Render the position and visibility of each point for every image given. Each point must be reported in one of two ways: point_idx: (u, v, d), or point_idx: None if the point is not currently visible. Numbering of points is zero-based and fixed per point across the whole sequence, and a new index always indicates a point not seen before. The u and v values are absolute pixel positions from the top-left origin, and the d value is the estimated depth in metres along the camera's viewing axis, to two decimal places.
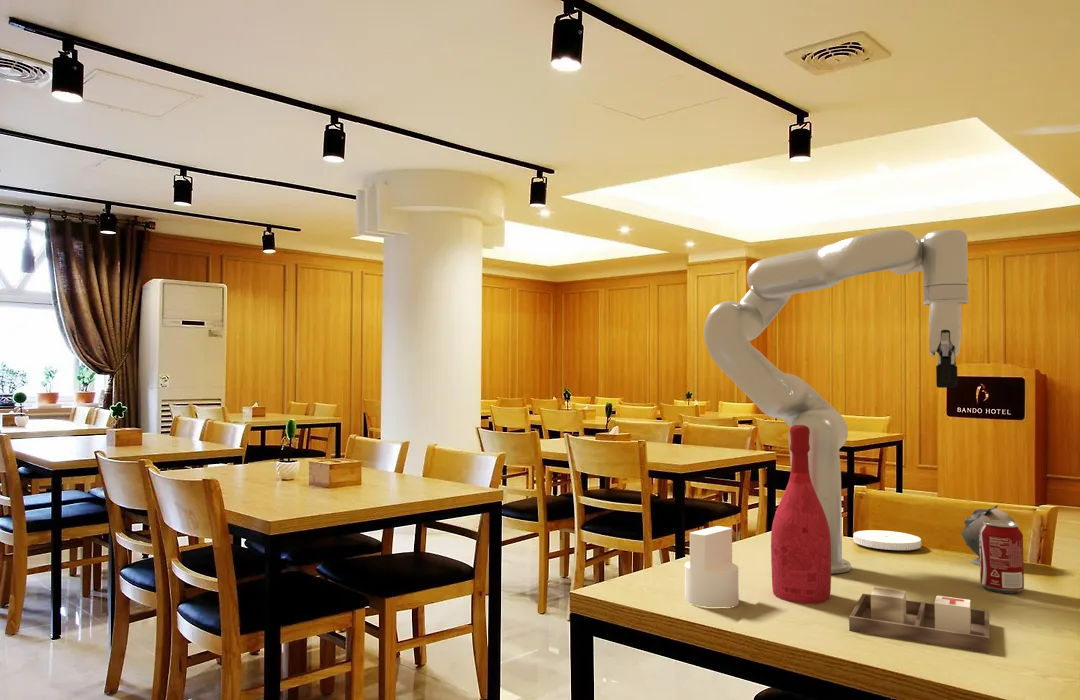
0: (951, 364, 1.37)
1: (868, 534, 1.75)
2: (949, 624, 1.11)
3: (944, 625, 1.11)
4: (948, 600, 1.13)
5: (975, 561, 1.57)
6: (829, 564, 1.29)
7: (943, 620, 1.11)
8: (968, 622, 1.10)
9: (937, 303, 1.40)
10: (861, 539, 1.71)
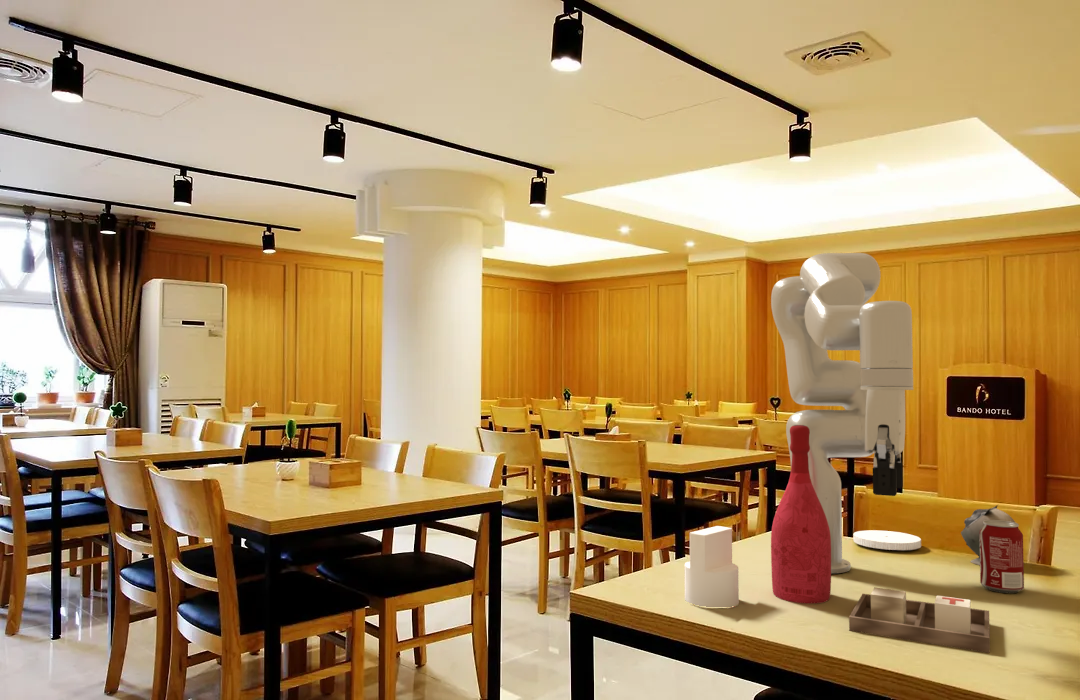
0: (890, 468, 1.12)
1: (868, 534, 1.75)
2: (949, 624, 1.11)
3: (944, 625, 1.11)
4: (948, 600, 1.13)
5: (975, 561, 1.57)
6: (829, 564, 1.29)
7: (943, 620, 1.11)
8: (968, 622, 1.10)
9: (874, 391, 1.15)
10: (861, 539, 1.71)
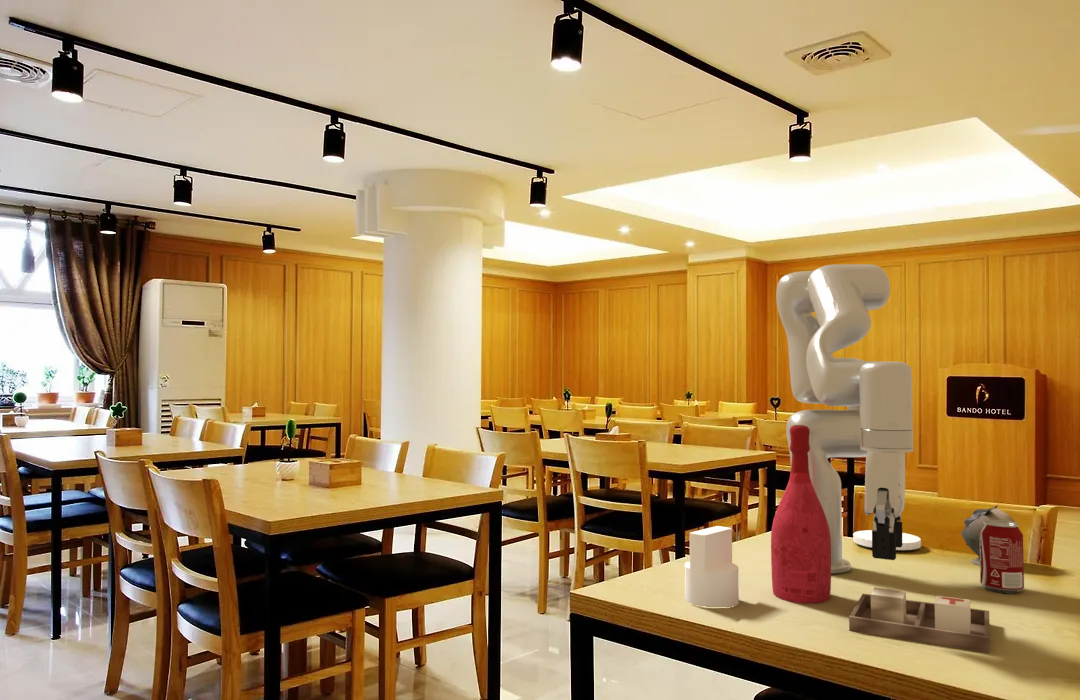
0: (889, 532, 1.12)
1: (868, 534, 1.75)
2: (949, 624, 1.11)
3: (944, 625, 1.11)
4: (948, 600, 1.13)
5: (975, 561, 1.57)
6: (829, 564, 1.29)
7: (943, 620, 1.11)
8: (968, 622, 1.10)
9: (874, 453, 1.15)
10: (861, 539, 1.71)
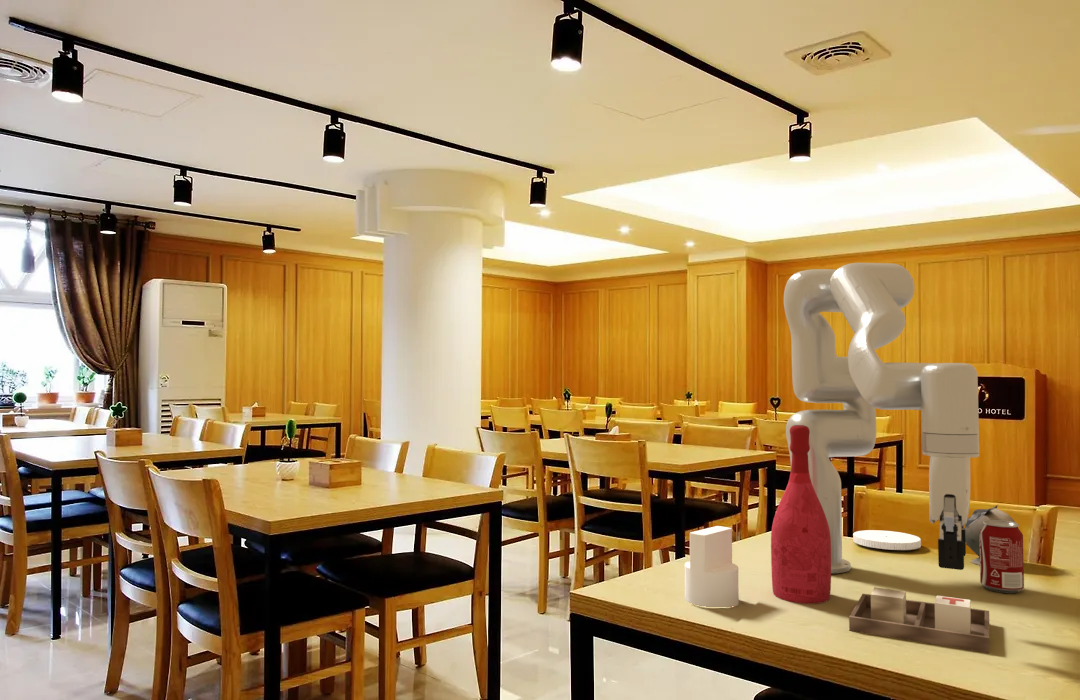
0: (957, 540, 1.07)
1: (868, 534, 1.75)
2: (949, 624, 1.11)
3: (944, 625, 1.11)
4: (948, 600, 1.13)
5: (975, 561, 1.57)
6: (829, 564, 1.29)
7: (943, 620, 1.11)
8: (968, 622, 1.10)
9: (939, 458, 1.10)
10: (861, 539, 1.71)
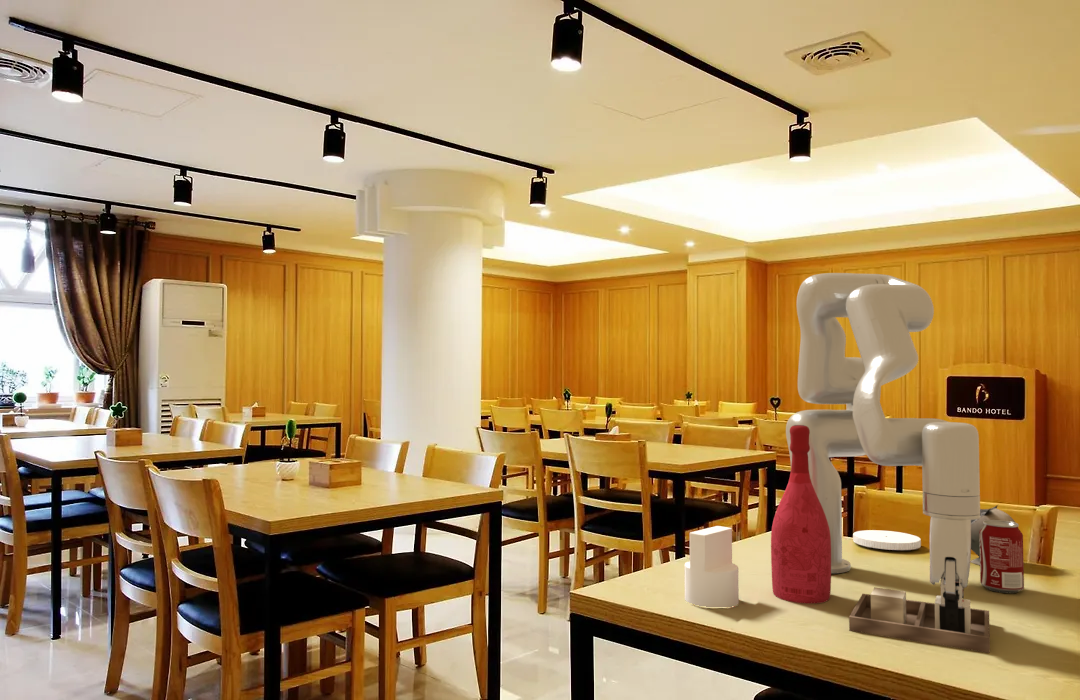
0: (958, 609, 1.09)
1: (868, 534, 1.75)
2: None
3: None
4: None
5: (975, 561, 1.57)
6: (829, 564, 1.29)
7: None
8: (968, 622, 1.10)
9: (940, 520, 1.10)
10: (861, 539, 1.71)
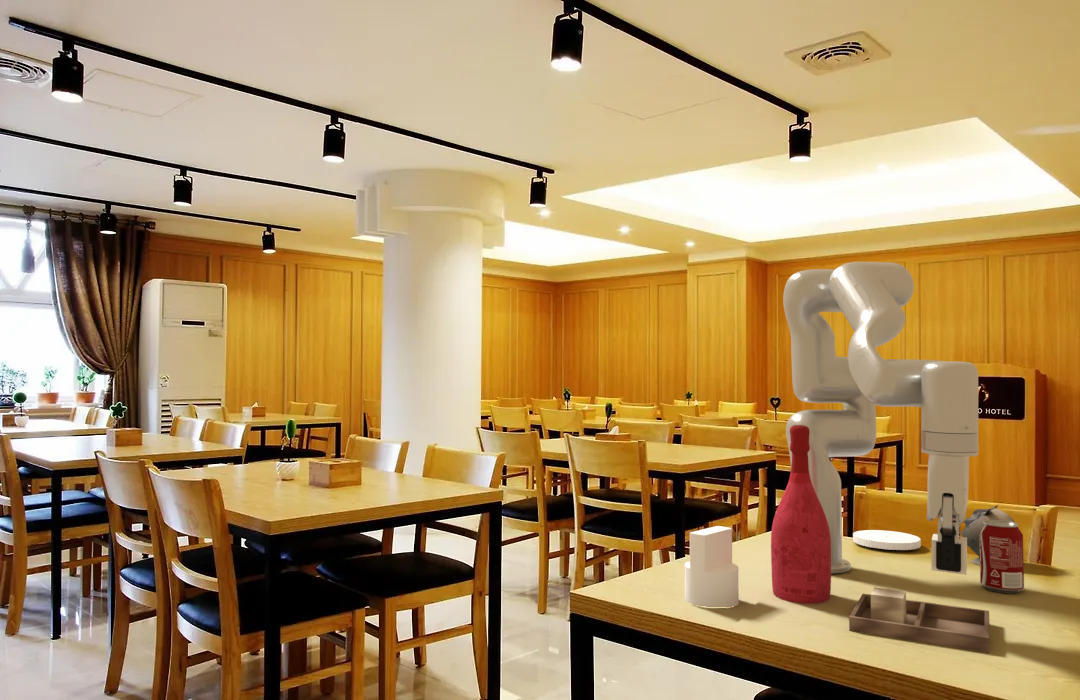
0: (955, 544, 1.10)
1: (868, 534, 1.75)
2: None
3: None
4: None
5: (975, 561, 1.57)
6: (829, 564, 1.29)
7: None
8: (964, 558, 1.11)
9: (938, 457, 1.11)
10: (861, 539, 1.71)
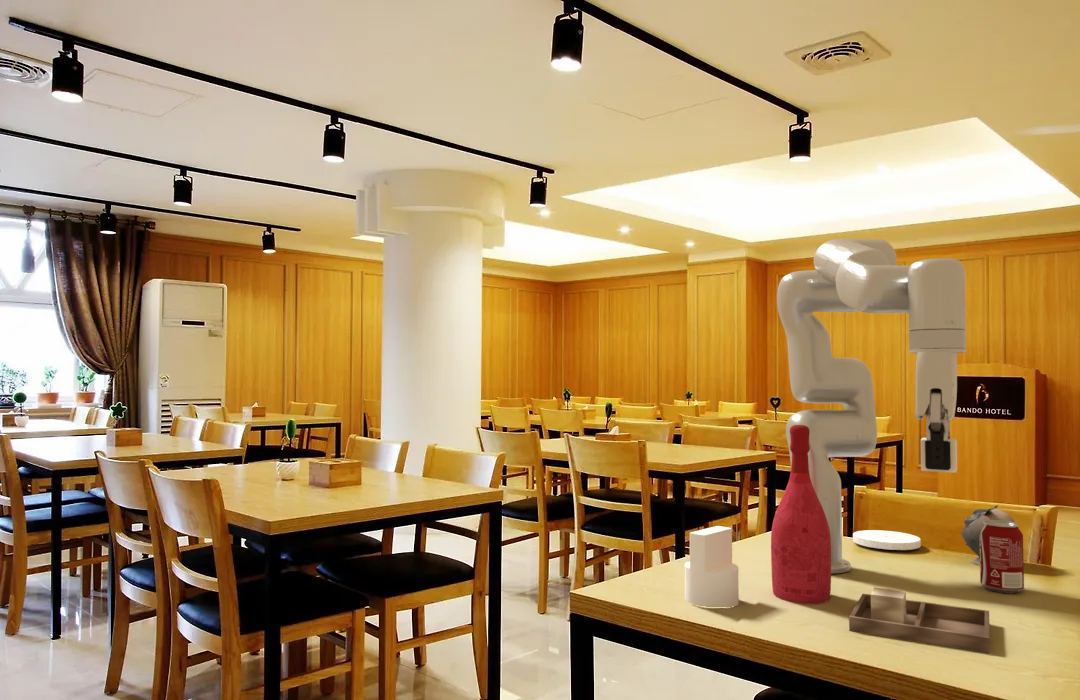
0: (944, 441, 1.08)
1: (868, 534, 1.75)
2: None
3: None
4: None
5: (975, 561, 1.57)
6: (829, 564, 1.29)
7: None
8: (954, 456, 1.09)
9: (925, 353, 1.09)
10: (861, 539, 1.71)
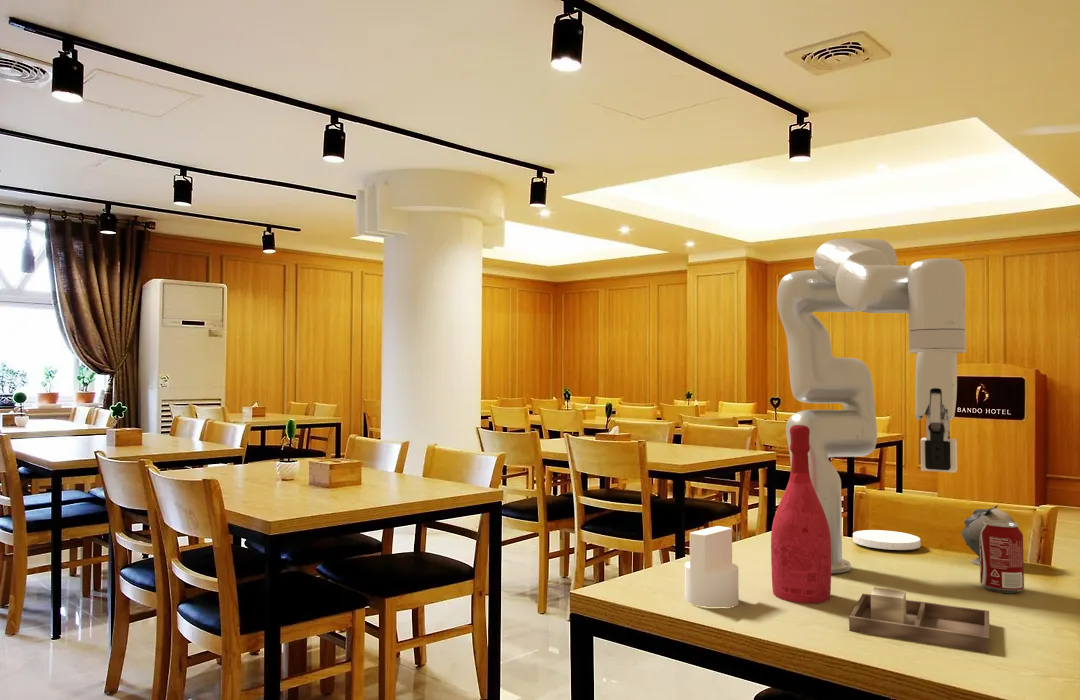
0: (944, 441, 1.08)
1: (867, 534, 1.75)
2: None
3: None
4: None
5: (975, 561, 1.57)
6: (829, 564, 1.29)
7: None
8: (954, 456, 1.09)
9: (925, 353, 1.09)
10: (860, 539, 1.71)
